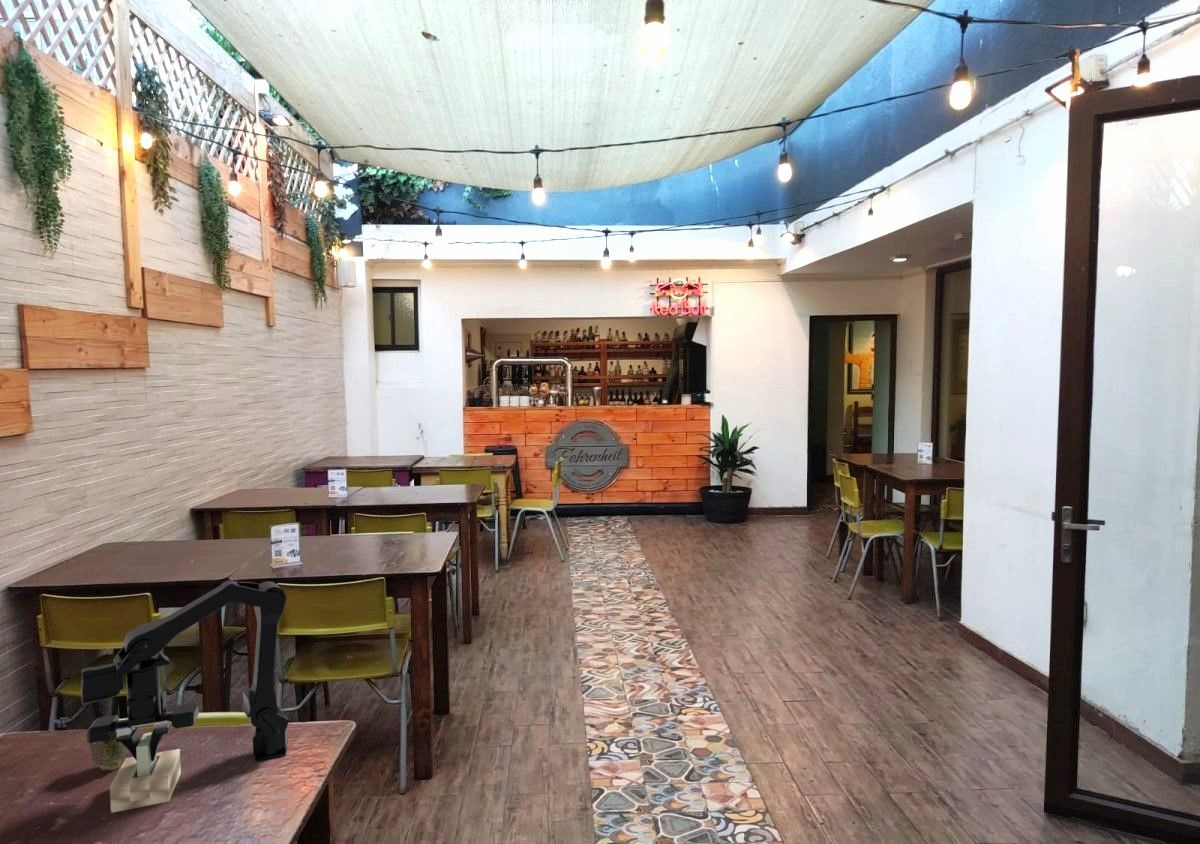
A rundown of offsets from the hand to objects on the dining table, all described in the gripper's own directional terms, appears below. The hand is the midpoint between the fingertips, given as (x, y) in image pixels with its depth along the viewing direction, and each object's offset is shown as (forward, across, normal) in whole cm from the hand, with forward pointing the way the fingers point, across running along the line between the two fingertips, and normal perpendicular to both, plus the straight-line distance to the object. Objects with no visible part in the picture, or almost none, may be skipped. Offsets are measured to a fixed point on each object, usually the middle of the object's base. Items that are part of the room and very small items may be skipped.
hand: (146, 761), depth 141 cm
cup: (+7, +10, -14) cm, 18 cm away
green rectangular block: (+3, 0, 0) cm, 3 cm away
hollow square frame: (+7, 0, 0) cm, 7 cm away
